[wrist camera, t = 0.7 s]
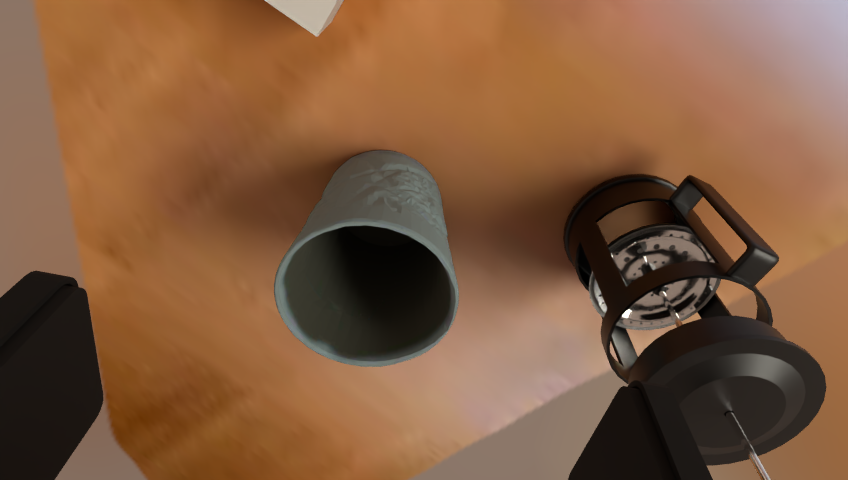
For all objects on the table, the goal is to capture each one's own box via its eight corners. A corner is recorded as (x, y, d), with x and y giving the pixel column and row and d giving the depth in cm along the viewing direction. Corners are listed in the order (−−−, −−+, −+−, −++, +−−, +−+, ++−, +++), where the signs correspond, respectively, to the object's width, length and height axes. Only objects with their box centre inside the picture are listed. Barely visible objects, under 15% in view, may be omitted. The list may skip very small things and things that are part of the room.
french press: (634, 303, 44) (785, 619, 25) (535, 260, 42) (613, 566, 23) (736, 186, 38) (1038, 478, 19) (626, 131, 37) (836, 392, 17)
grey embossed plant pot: (302, 231, 42) (255, 337, 31) (340, 113, 36) (300, 194, 26) (424, 273, 43) (418, 387, 33) (477, 166, 38) (489, 261, 28)
